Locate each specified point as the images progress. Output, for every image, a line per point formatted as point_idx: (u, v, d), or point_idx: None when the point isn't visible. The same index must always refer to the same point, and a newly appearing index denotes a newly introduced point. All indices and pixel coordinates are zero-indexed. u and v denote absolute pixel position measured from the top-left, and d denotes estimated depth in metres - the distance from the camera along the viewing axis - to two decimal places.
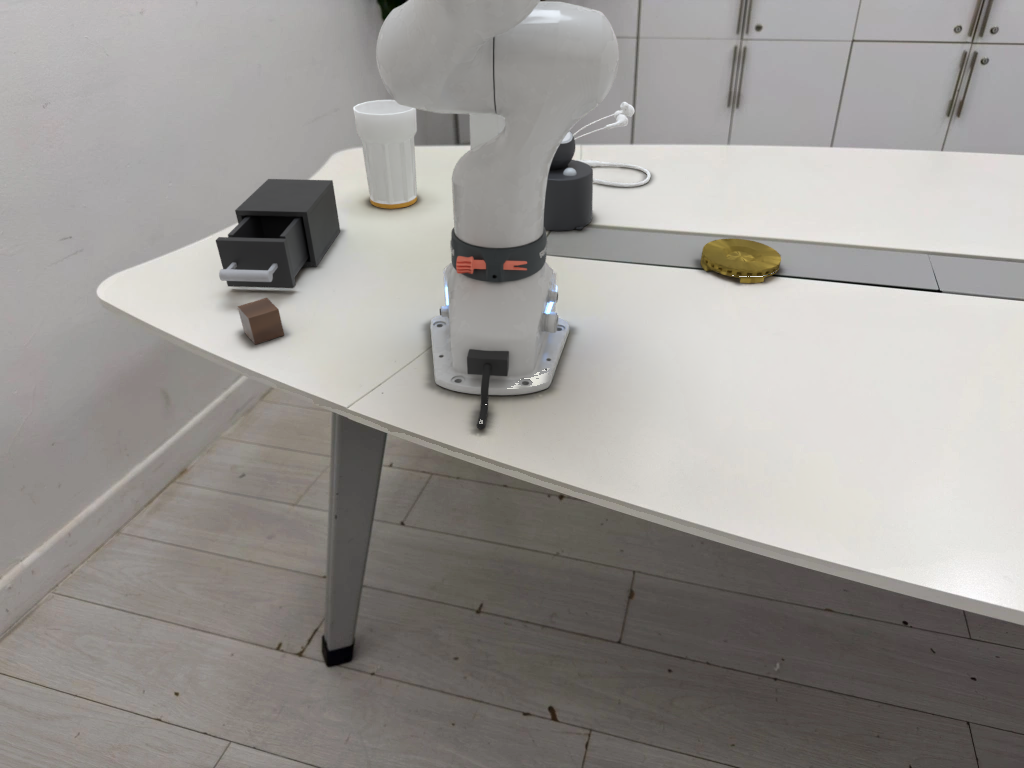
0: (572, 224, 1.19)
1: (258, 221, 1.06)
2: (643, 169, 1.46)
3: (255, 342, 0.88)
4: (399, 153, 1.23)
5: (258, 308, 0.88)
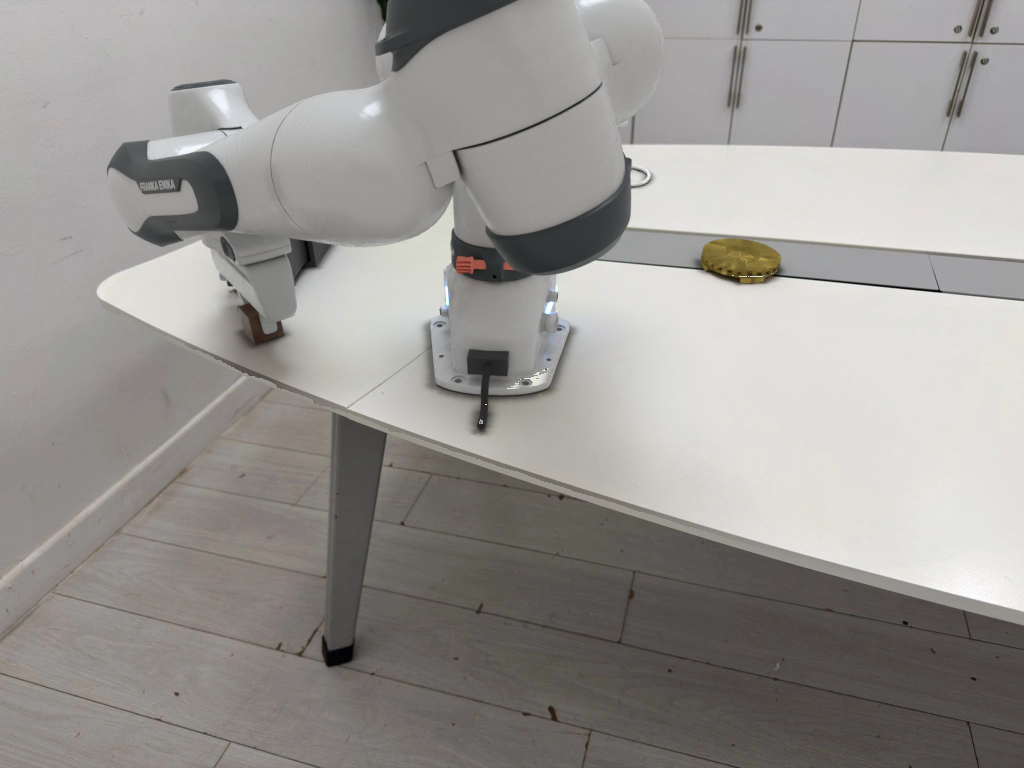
0: None
1: None
2: (643, 169, 1.46)
3: (255, 342, 0.88)
4: None
5: None
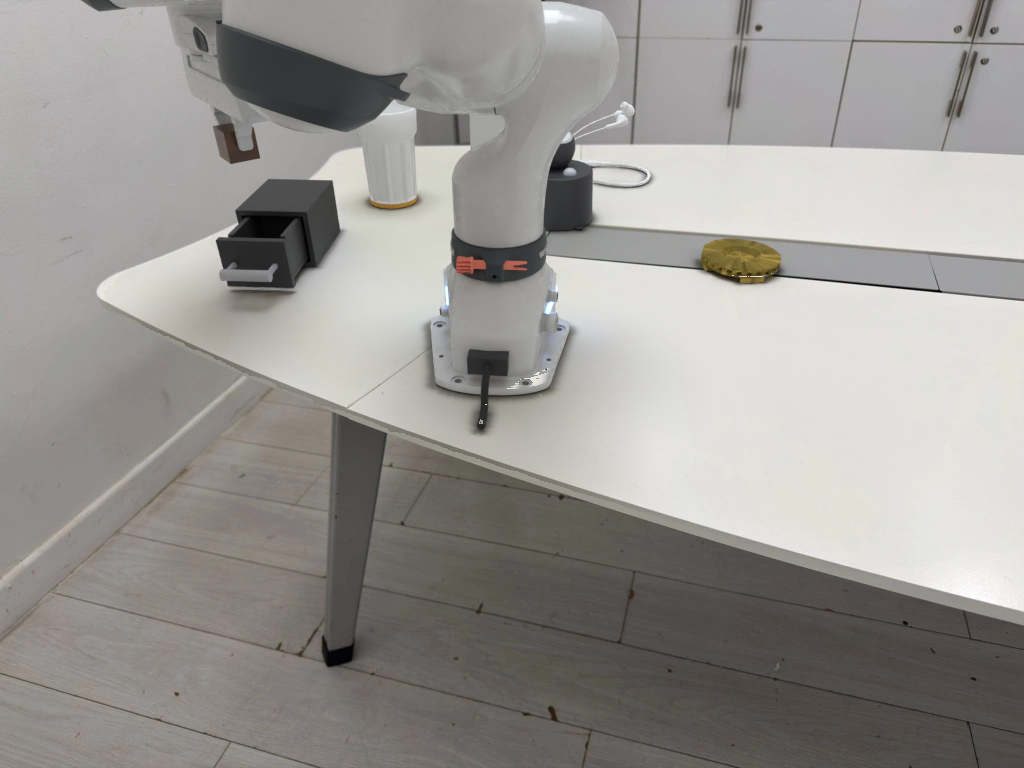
0: (572, 224, 1.19)
1: (258, 221, 1.06)
2: (643, 169, 1.46)
3: (231, 161, 0.88)
4: (399, 153, 1.23)
5: (233, 127, 0.87)
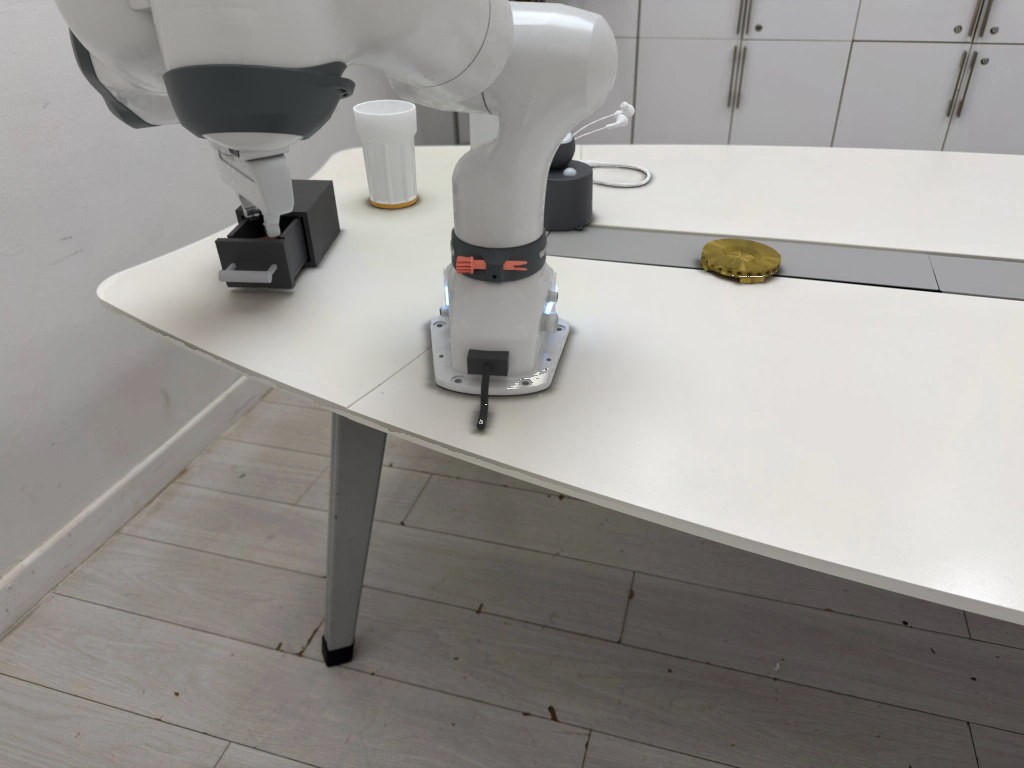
0: (572, 224, 1.19)
1: (257, 222, 1.06)
2: (643, 169, 1.46)
3: None
4: (399, 153, 1.23)
5: None
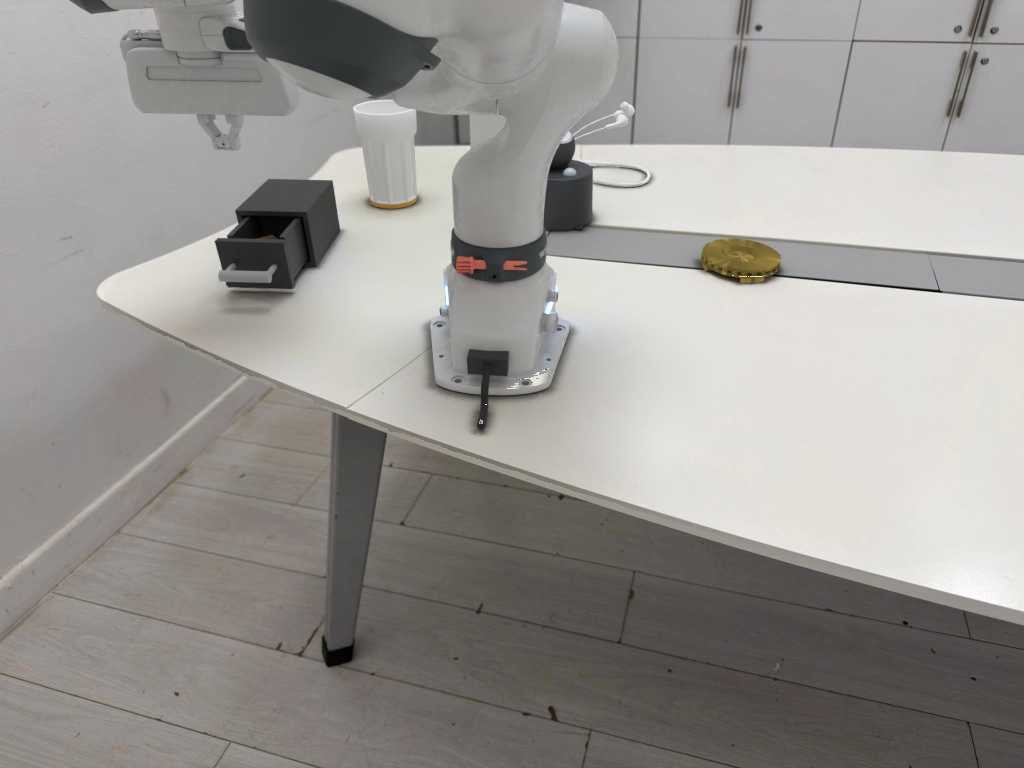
0: (572, 224, 1.19)
1: (257, 222, 1.06)
2: (643, 169, 1.46)
3: None
4: (399, 153, 1.23)
5: None
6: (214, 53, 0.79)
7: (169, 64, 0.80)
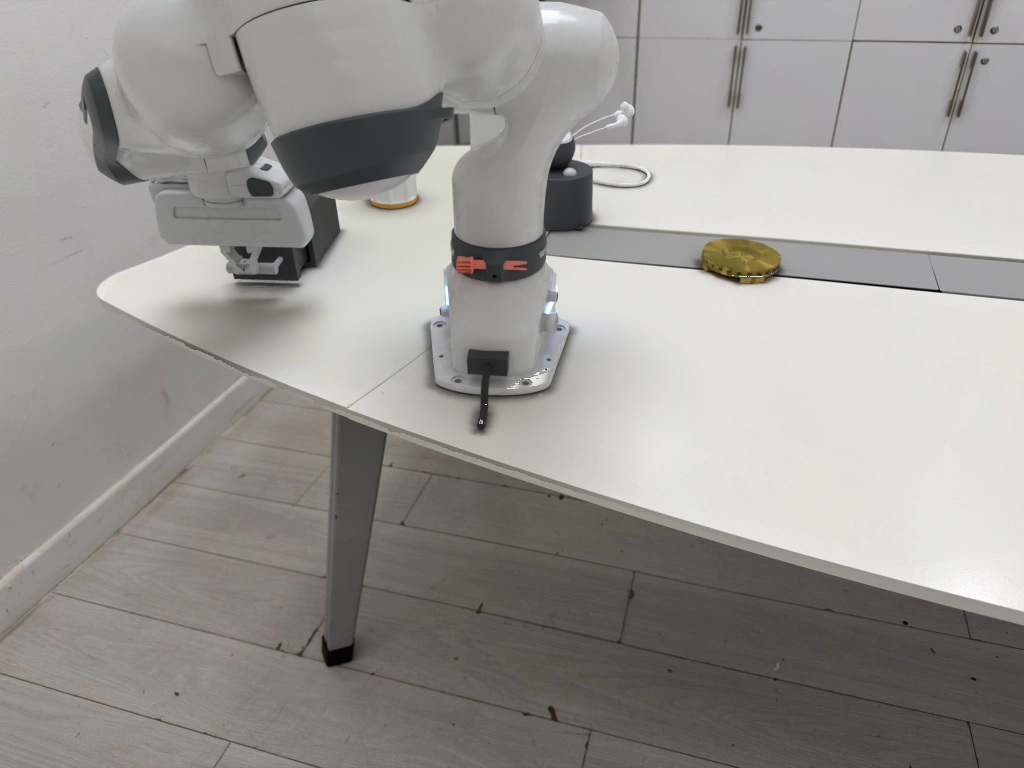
0: (572, 224, 1.19)
1: None
2: (643, 169, 1.46)
3: None
4: None
5: None
6: (237, 197, 0.86)
7: (195, 205, 0.87)
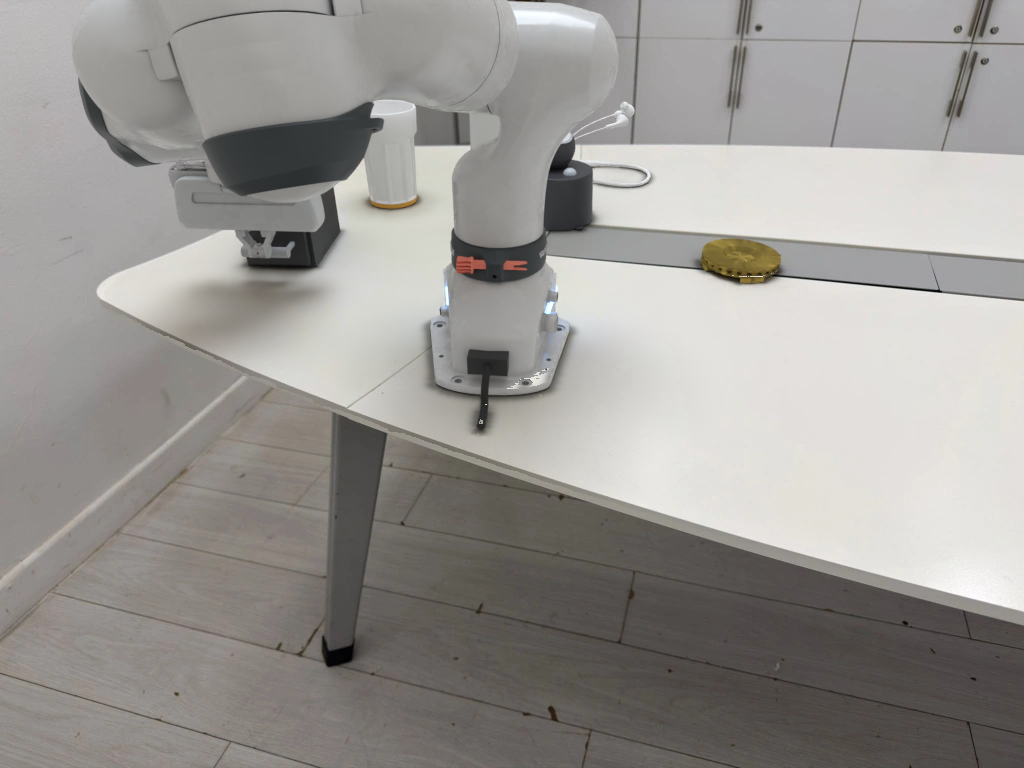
0: (572, 224, 1.19)
1: None
2: (643, 169, 1.46)
3: None
4: (399, 153, 1.23)
5: None
6: None
7: (212, 191, 0.92)
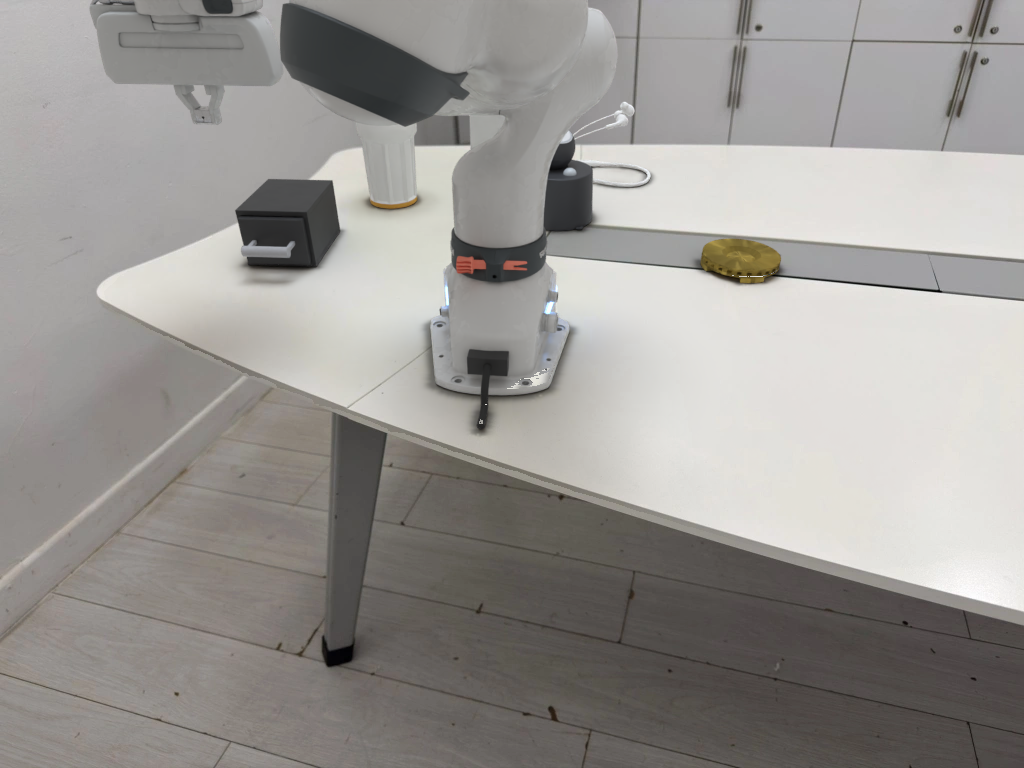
0: (572, 224, 1.19)
1: None
2: (643, 169, 1.46)
3: None
4: (399, 153, 1.23)
5: None
6: (191, 17, 0.74)
7: (143, 30, 0.75)
